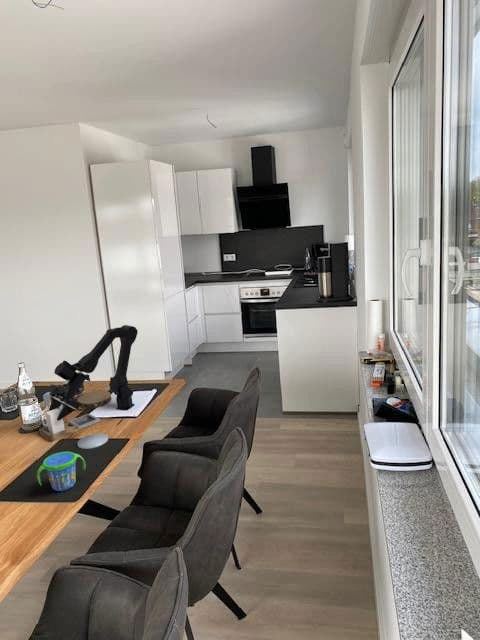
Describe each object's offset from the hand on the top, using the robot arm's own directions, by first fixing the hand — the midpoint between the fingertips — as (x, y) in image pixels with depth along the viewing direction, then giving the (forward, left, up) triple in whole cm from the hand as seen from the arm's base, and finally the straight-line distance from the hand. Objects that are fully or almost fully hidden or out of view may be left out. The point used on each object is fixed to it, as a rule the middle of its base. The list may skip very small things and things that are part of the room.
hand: (53, 417), depth 206 cm
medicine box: (+19, -22, -8) cm, 30 cm away
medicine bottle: (+23, -42, -8) cm, 49 cm away
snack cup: (-32, +34, -8) cm, 47 cm away
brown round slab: (+5, -34, -8) cm, 36 cm away
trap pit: (-6, -11, -7) cm, 15 cm away
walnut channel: (0, 0, -7) cm, 8 cm away
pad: (-21, +4, -7) cm, 23 cm away
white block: (0, 0, -8) cm, 8 cm away
